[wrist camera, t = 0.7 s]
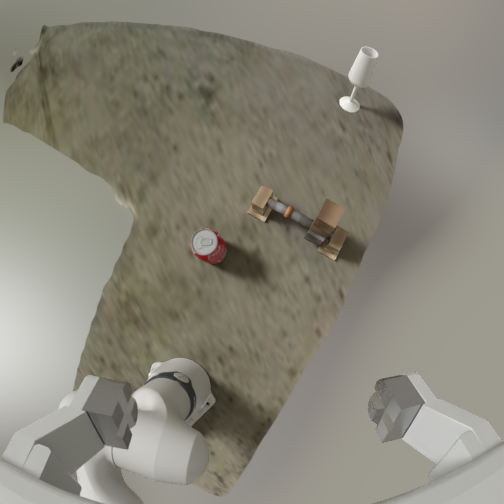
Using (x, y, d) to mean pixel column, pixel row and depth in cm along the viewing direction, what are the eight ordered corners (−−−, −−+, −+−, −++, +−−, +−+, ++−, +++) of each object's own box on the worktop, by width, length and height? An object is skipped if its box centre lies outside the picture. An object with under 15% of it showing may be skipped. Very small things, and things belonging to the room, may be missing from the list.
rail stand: (345, 236, 71) (354, 230, 64) (334, 260, 70) (341, 256, 63) (260, 190, 74) (260, 179, 67) (247, 213, 73) (245, 204, 66)
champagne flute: (336, 106, 77) (354, 52, 54) (342, 93, 78) (360, 41, 54) (356, 115, 77) (379, 64, 53) (362, 102, 77) (384, 51, 54)
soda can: (200, 237, 73) (188, 226, 61) (227, 236, 72) (220, 224, 61) (200, 265, 72) (188, 259, 60) (228, 264, 71) (221, 257, 59)
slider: (329, 225, 68) (346, 205, 53) (318, 246, 68) (333, 231, 52) (315, 217, 69) (328, 195, 53) (303, 238, 68) (314, 221, 53)
